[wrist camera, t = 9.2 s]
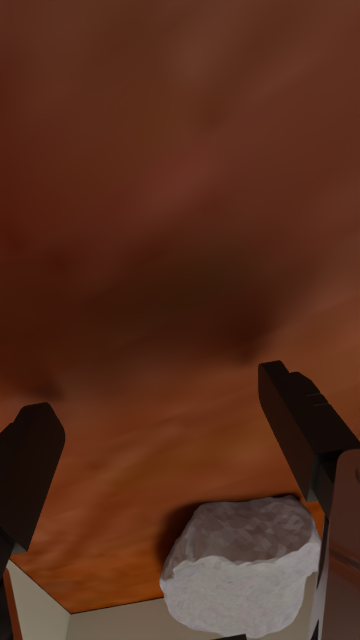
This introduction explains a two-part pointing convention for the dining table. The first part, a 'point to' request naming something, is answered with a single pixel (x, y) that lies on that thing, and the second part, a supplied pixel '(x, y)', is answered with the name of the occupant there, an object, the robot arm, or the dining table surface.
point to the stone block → (241, 566)
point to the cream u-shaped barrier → (124, 618)
